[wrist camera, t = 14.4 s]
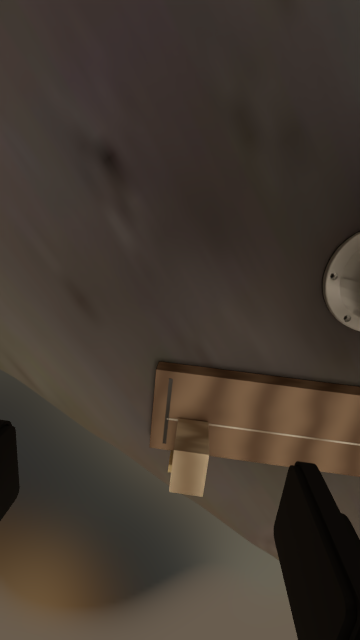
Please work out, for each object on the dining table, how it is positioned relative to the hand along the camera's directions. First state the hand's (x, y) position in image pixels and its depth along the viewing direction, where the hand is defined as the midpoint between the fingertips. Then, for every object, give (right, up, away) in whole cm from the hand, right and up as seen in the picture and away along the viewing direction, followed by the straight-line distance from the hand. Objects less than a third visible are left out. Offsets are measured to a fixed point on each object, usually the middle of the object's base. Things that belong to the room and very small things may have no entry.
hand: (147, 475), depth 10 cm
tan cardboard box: (+3, -11, +32) cm, 34 cm away
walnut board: (+13, -8, +31) cm, 34 cm away
